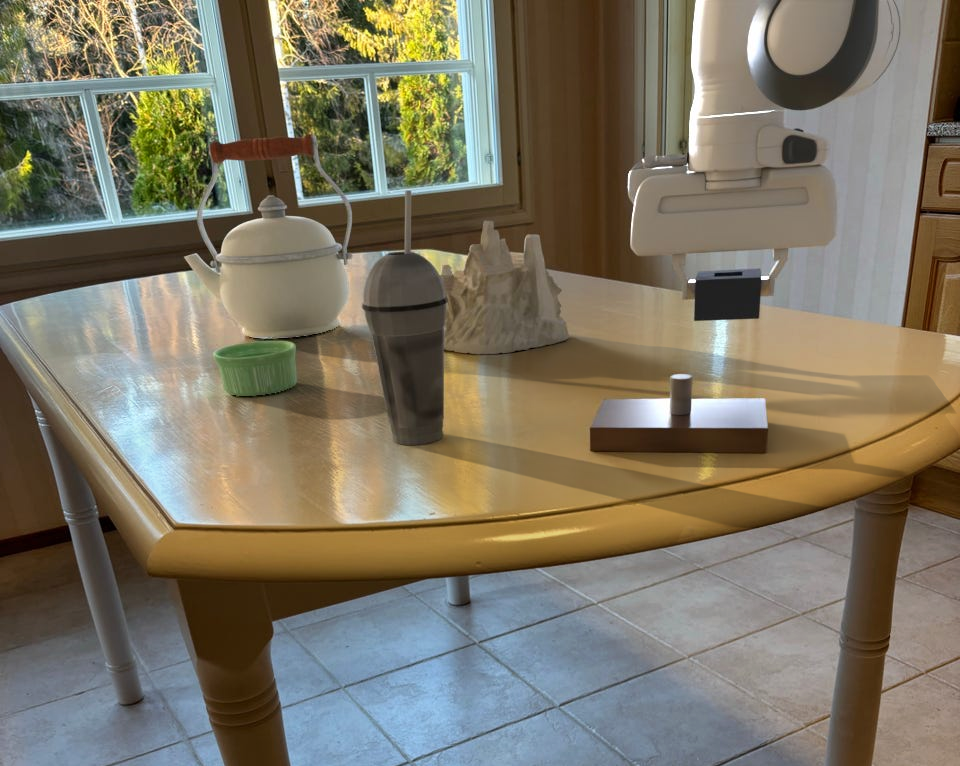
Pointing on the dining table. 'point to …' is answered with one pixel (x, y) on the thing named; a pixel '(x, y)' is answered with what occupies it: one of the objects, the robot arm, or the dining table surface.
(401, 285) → the beverage cup
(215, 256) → the kettle
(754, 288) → the dark grey holed block
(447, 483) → the dining table surface
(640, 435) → the wooden peg base
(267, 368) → the ramekin
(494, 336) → the white castle figurine
